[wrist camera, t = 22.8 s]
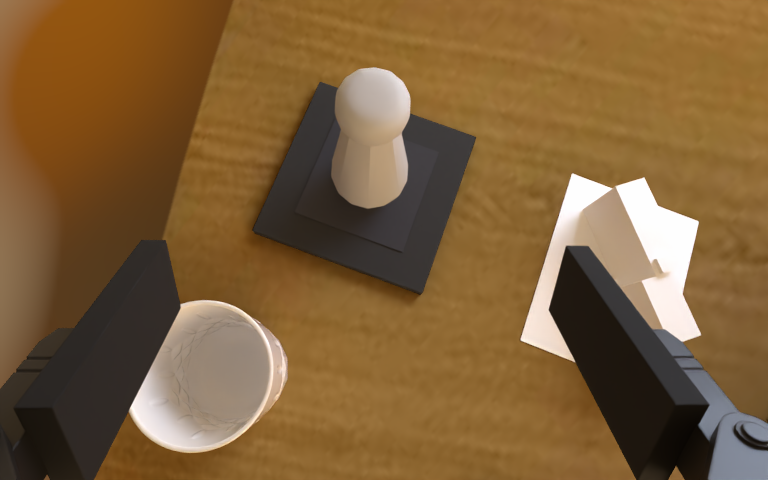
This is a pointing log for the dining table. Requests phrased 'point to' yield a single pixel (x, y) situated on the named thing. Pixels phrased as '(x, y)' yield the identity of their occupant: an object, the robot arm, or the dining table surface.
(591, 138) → the dining table surface
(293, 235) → the rubber pad
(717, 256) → the dining table surface
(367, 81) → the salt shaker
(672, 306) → the napkin holder
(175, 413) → the white cup
